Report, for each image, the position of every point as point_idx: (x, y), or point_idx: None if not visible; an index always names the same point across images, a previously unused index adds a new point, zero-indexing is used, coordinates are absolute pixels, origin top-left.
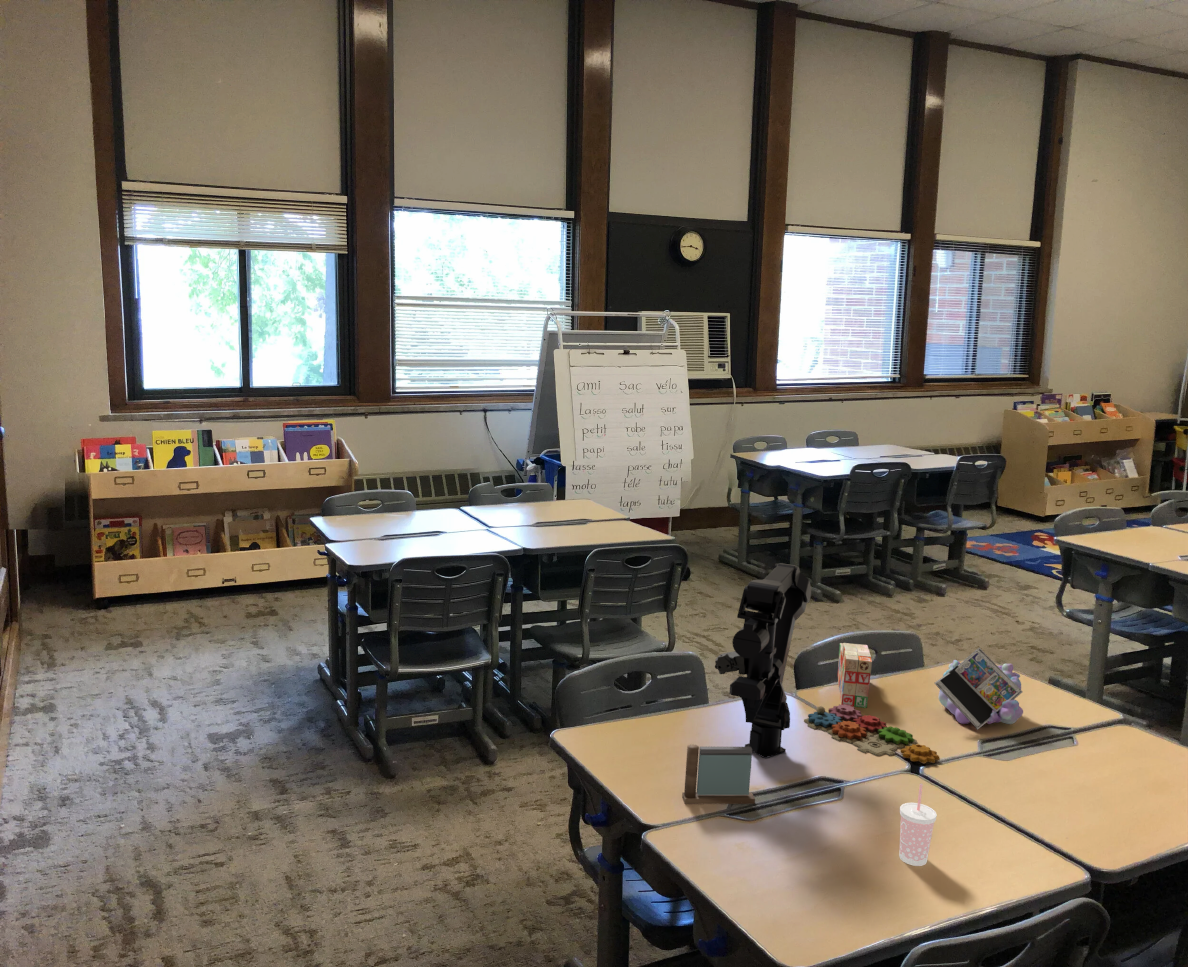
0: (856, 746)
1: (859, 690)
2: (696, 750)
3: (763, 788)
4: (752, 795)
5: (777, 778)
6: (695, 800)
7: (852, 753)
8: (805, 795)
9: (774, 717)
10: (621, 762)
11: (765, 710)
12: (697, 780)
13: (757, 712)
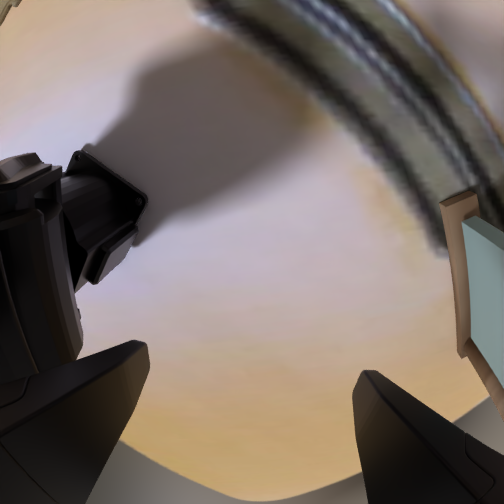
0: (5, 16)
1: None
2: None
3: (374, 170)
4: (460, 203)
5: (281, 132)
6: None
7: (34, 4)
8: (366, 38)
9: (57, 226)
10: (326, 455)
11: (49, 292)
12: (484, 355)
13: (70, 318)
